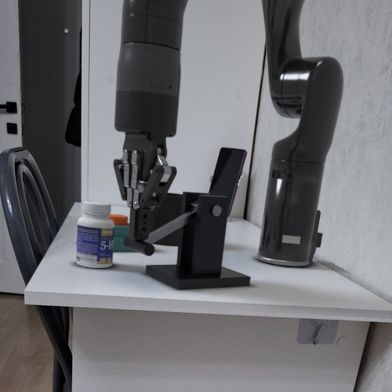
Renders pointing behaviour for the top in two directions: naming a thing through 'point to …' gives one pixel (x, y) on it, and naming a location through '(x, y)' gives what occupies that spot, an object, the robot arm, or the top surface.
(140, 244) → the lever
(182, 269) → the bracket
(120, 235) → the button box
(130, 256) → the top surface
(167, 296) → the top surface
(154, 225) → the mug
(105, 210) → the pill bottle
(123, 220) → the button
